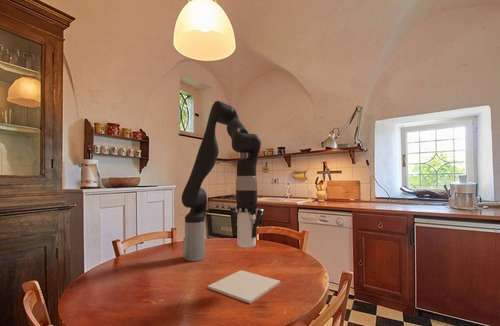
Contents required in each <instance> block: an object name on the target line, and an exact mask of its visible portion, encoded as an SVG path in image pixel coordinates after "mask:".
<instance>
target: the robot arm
mask: <svg viewBox="0 0 500 326" xmlns="http://www.w3.org/2000/svg"><path fill="white" fill-rule="evenodd" d="M217 124H221V125H224V126H226V131H227V134H228V136H229V138H230V140H231V148H232V150H233V152H236V153H238V154H239V153H240V154H242V153H244V154H248V156H247V157H246V158H244V159H239V160H237V162H236V179H235V180H236V182H235V201H236V206H232V207H230V209H229V211H230V216H231V223H232V224H234V225H236V226H237V215H238V213H239V212H248V214H249V216H250V214H251V215H254V214H255V224H254V223H253V220H252V219H251V217H250V221H251V228H253V235H252V239H253V238H254V237H255V238H256V239H257V233H258V232H257V228H258V227H261V226H262V225H263V219H264V214H265V209H263V208H259V207H258V206H257V204H258V203H257V202H258V180H257V179H258V178H257V162H258V159H259V154H260V151H261V148H262V141H261V138H260V136H259V135H257V134H255V133H249V131H248V129H247V127H246V126H245V125H244V124H243V123H242V122H241V120H240V117H239V114H238V112H237V110H236V109H235V107H234V106H232V105H230V104H228V103H225V102H222V101H220V100H216V101H214V103H213V104H212V106H211V108H210V111H209V115H208V118H207V122H206V127H205V130H204V134H203V137H202V141H201V142H200V146H199V148H198V152H197V154H196V157H195V160H194V162H193V163H194V164H193V166H192V170H191V172H190V176H189V178H188V180H187V182H186V184H185V186H184V189H183V191H182V194H181V203H182V205H183V207H185V208H188V209H189V208H190V210H189V212H188V213H187V214H186V215H185V216H184V237H183V241H182V242H183V244H182V245H183V246H182V247H183V248H182V249H183V252H182V253H183V254H182V258H183V259H184V261H187V262H196V261H197V262H198V261H201V260H204V259H205V238H206V237H205V235H206V234H205V232H206V231H205V221H206V219H205V218H206V215H207V209H208V208H207V207H208V195H207V192H206V190H205V189H204V188H202V187H201V186H202V184H203V182H204V180H205V179H206V177H207V176H208V175H209V174H210V173H211V171H212V170H213V169H214V167H215V165H216V162H217V159H218V156H219V152H220V151H219V144H218V141H217V137H216V128H217ZM238 211H239V212H238ZM249 212H250V213H249Z"/></svg>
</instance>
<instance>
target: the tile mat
mask: <svg viewBox="0 0 500 326" xmlns="http://www.w3.org/2000/svg"><path fill="white" fill-rule="evenodd" d="M280 284H281V280H278V279H275V278H271V277H267V276H262V275H260V274H257V273H253V272H249V271H245V270H241V269H240V270H238V271H237V272H234V273H232V274H230V275H228V276H226V277H223V278H221V279H220V280H217V281H216V282H214V283H211V284H209V285H208V286H207V289H208V290H212V291H214V292H217V293H219V294H222V295H226V296H228V297H231V298H232V299H233V298H234V299H236V300H239V301H241V302H244V303H248V304H253V302H255V301H257V300H258V299H260V298H261V297H262V296H264V295H265V294H267V293H269V292H270V291H271V290H273V289H274V288H275V287H277V286H278V285H280Z"/></svg>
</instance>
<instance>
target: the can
mask: <svg viewBox="0 0 500 326" xmlns="http://www.w3.org/2000/svg"><path fill="white" fill-rule="evenodd" d="M249 213H250V212H249ZM255 215H256V213H255V214H254V215H251V214H250V216H249V214H248V212H239V211H238V215H237V225H236V227H237V229H236V231H237V233H236V235H237V236H236V238H237V239H236V240H237V244H236V245H237V247H239V248H243V249H249V248H250V249H251V248H254V247H255V246H256V243H257V242H256V241H257V237H256V238H255V237H254V238H253V239H252V235H253V228H251V221H250V217H251V219H252V220H253V223H254V224H255Z"/></svg>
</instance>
